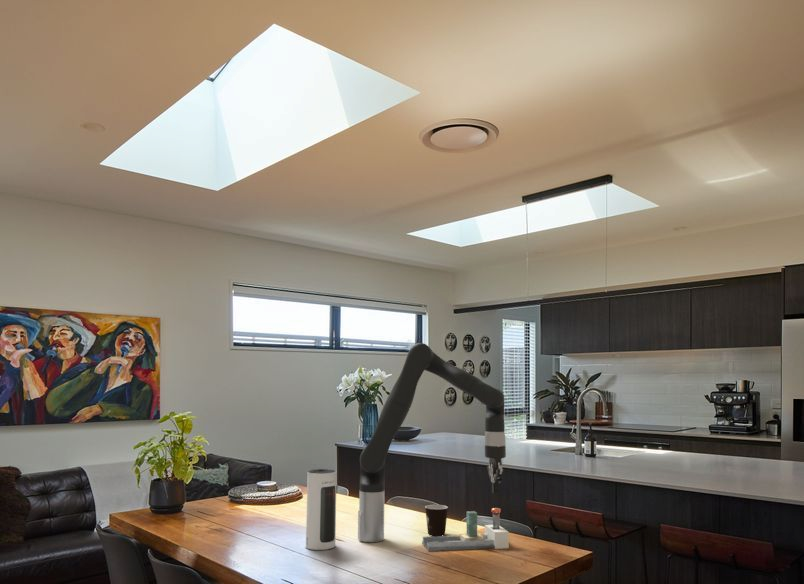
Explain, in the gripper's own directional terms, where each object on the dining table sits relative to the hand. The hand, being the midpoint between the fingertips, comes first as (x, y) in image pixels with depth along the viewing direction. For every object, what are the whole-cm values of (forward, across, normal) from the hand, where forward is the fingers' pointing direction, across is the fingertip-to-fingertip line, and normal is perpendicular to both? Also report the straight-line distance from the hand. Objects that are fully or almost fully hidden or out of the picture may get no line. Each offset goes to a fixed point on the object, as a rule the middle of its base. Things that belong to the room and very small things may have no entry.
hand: (495, 493), depth 222 cm
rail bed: (+18, 0, -12) cm, 22 cm away
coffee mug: (+18, -19, -17) cm, 31 cm away
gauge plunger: (+15, 0, 0) cm, 15 cm away
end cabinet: (+18, 0, 0) cm, 18 cm away
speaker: (+18, -7, -62) cm, 65 cm away
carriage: (+16, 0, -9) cm, 19 cm away
